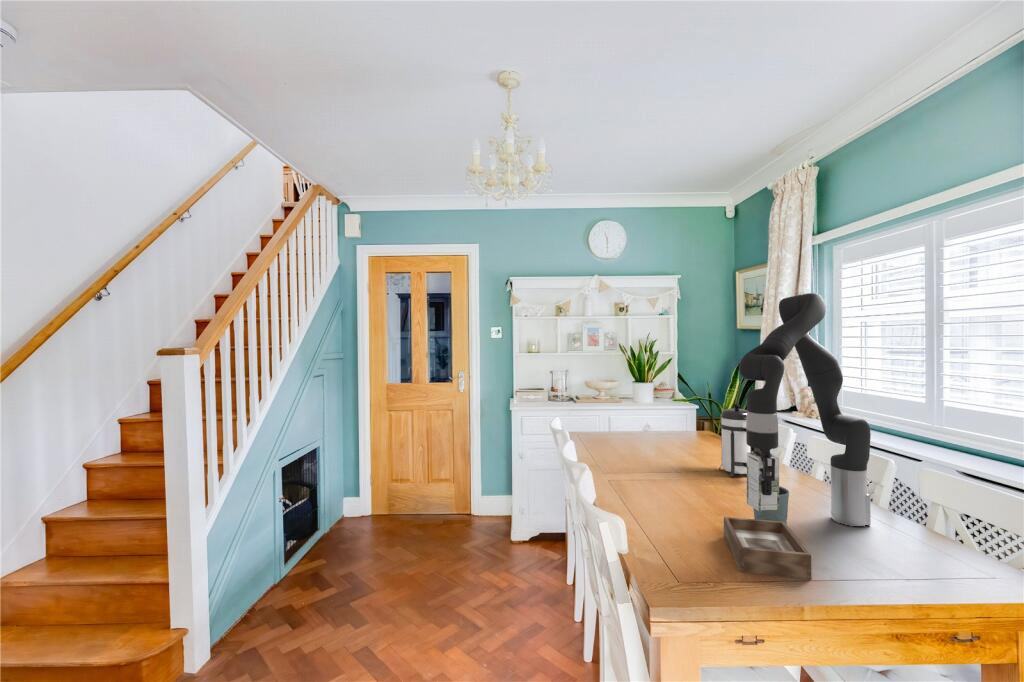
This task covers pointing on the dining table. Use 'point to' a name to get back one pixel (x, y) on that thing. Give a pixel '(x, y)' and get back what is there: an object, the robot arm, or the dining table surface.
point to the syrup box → (754, 485)
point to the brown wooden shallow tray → (766, 548)
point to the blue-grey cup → (776, 515)
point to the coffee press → (734, 441)
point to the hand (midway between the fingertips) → (762, 489)
